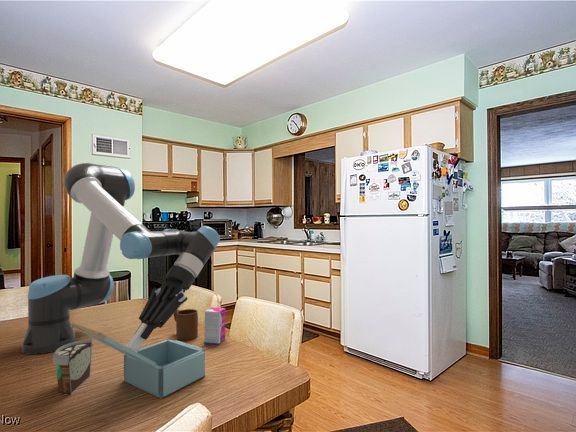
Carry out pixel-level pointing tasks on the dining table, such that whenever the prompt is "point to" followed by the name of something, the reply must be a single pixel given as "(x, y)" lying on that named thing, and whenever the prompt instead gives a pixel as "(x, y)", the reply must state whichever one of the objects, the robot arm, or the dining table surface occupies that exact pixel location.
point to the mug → (186, 324)
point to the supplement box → (214, 326)
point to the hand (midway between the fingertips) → (131, 349)
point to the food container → (73, 365)
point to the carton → (165, 367)
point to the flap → (112, 343)
